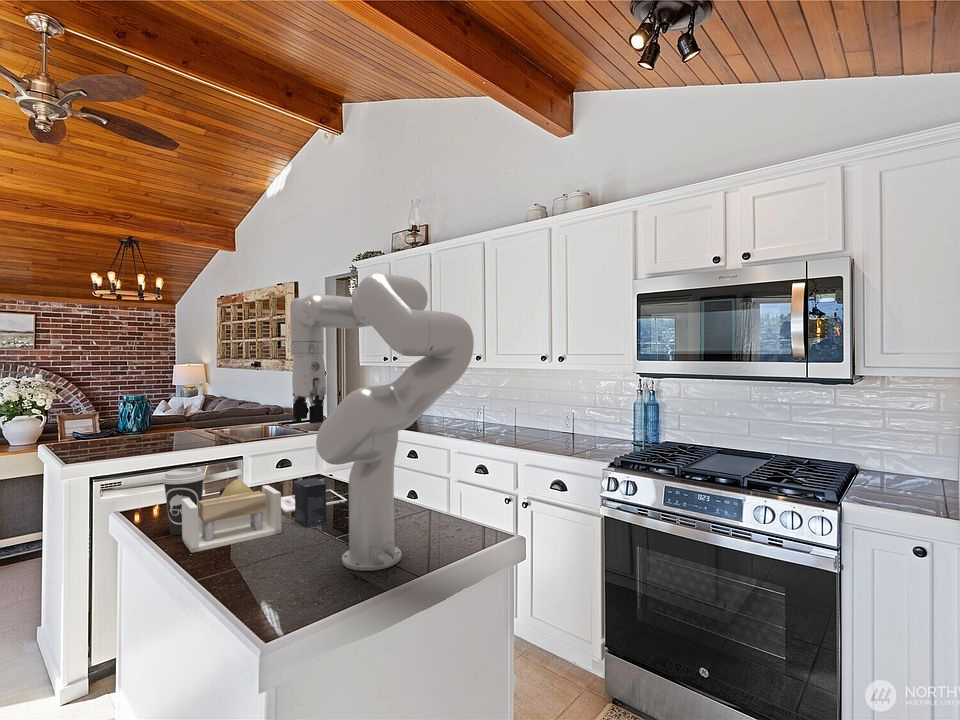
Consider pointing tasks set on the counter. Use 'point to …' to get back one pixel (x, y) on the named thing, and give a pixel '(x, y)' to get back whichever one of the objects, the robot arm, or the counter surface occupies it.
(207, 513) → the oak board
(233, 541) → the peg frame
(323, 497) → the box
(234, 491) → the tan rounded triangle
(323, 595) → the counter surface
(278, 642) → the counter surface
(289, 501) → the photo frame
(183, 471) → the coffee cup
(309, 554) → the counter surface
